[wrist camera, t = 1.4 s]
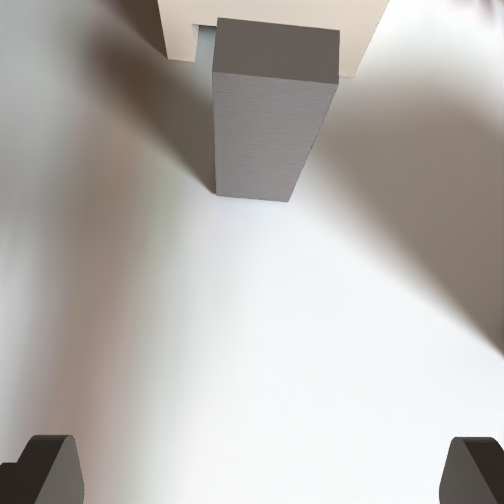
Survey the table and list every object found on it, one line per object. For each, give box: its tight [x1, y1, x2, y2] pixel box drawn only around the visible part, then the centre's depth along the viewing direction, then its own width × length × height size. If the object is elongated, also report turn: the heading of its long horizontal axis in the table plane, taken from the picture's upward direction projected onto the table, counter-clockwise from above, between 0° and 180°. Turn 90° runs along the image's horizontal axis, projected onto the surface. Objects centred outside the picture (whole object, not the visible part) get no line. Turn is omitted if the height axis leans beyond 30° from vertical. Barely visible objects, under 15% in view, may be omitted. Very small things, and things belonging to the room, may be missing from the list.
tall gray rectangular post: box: [212, 17, 340, 202], centre depth 26 cm, size 15×8×14 cm, turn 176°
